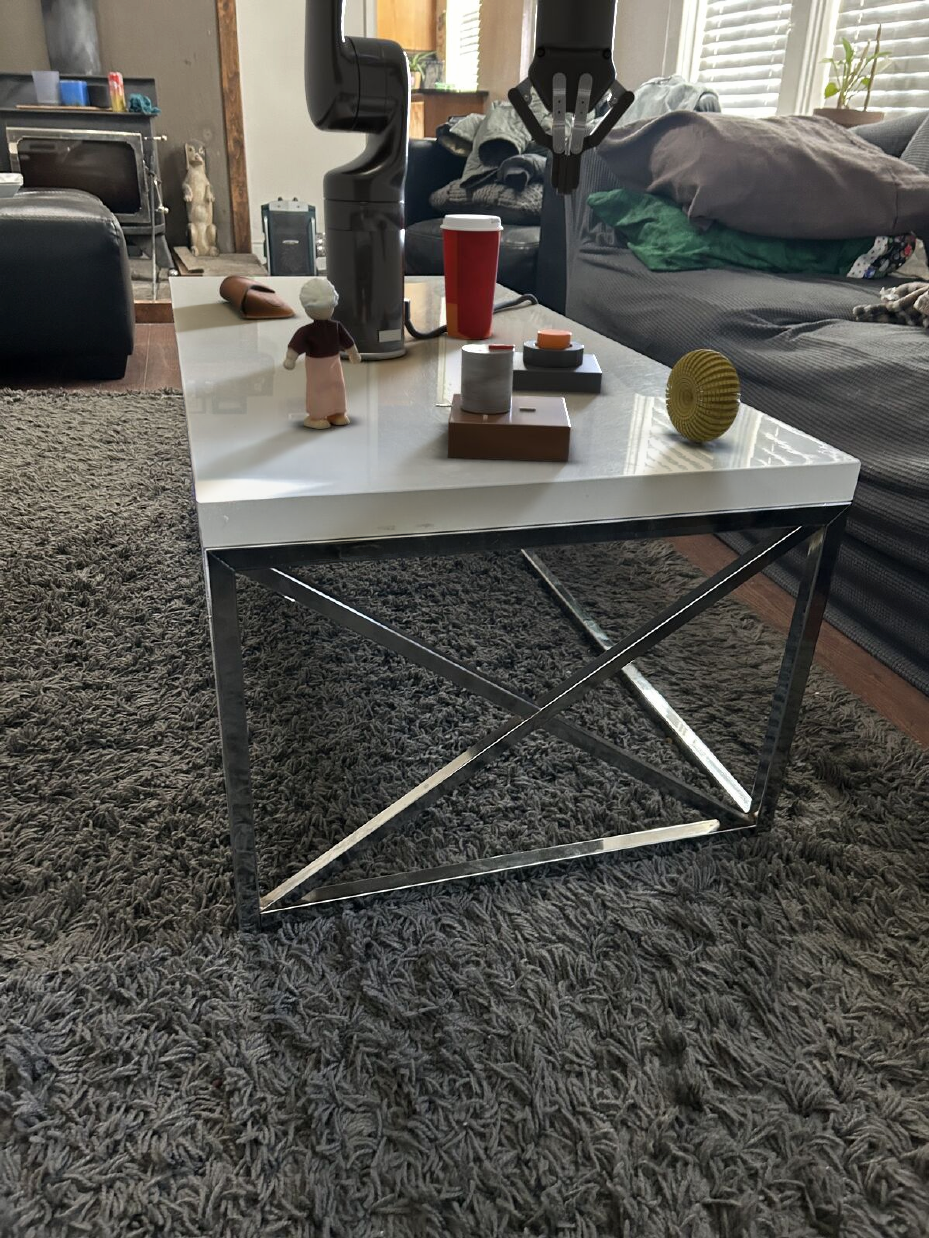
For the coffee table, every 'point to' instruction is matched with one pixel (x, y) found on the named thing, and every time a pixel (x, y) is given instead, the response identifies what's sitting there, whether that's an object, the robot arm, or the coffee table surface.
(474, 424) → the panel
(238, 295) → the sunglasses case
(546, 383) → the button box
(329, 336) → the grandmother figurine
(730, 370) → the sculpture
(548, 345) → the button
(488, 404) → the lock knob
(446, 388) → the coffee table surface
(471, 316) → the coffee cup
